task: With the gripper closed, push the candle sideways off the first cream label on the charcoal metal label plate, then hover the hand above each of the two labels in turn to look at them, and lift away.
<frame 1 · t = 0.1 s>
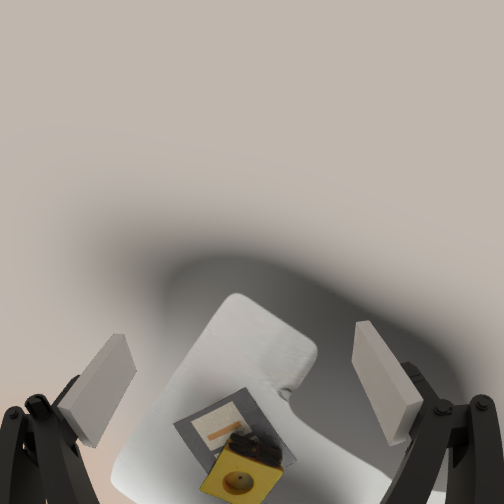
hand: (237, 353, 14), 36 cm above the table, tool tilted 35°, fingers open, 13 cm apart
label plate: (234, 445, 42), on the table
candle: (246, 461, 40), resting on label plate
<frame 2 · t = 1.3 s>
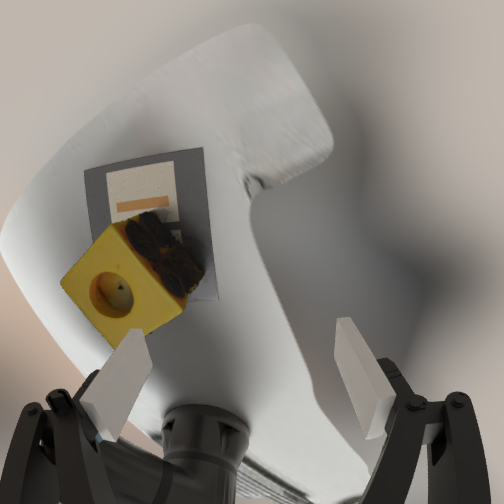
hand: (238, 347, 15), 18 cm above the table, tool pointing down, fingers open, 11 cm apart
label plate: (145, 232, 32), on the table
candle: (151, 264, 33), resting on label plate
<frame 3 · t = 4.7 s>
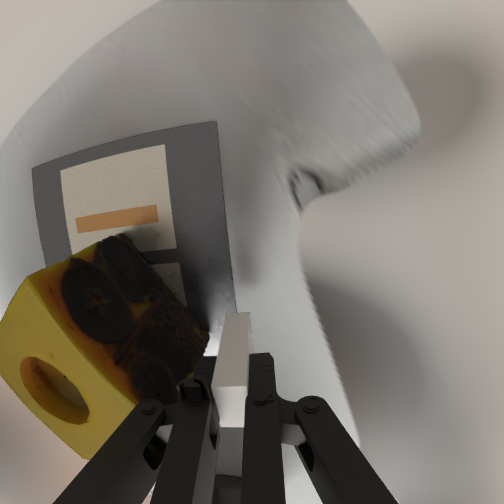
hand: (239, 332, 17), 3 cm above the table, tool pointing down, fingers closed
label plate: (122, 266, 19), on the table
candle: (125, 315, 20), resting on label plate, touching gripper
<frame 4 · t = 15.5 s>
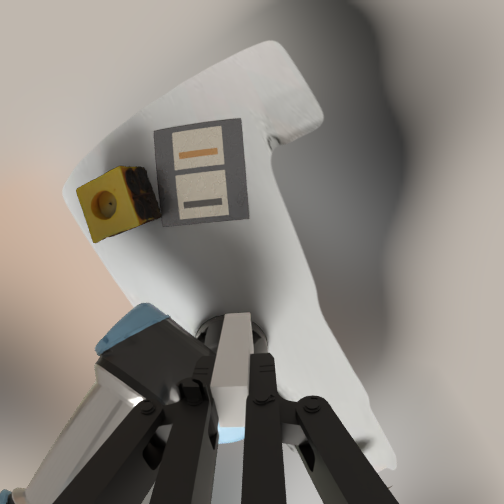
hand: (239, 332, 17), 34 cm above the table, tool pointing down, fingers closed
label plate: (199, 172, 47), on the table
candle: (132, 200, 49), on the table, touching label plate
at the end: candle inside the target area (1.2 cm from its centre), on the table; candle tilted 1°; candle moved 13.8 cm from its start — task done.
